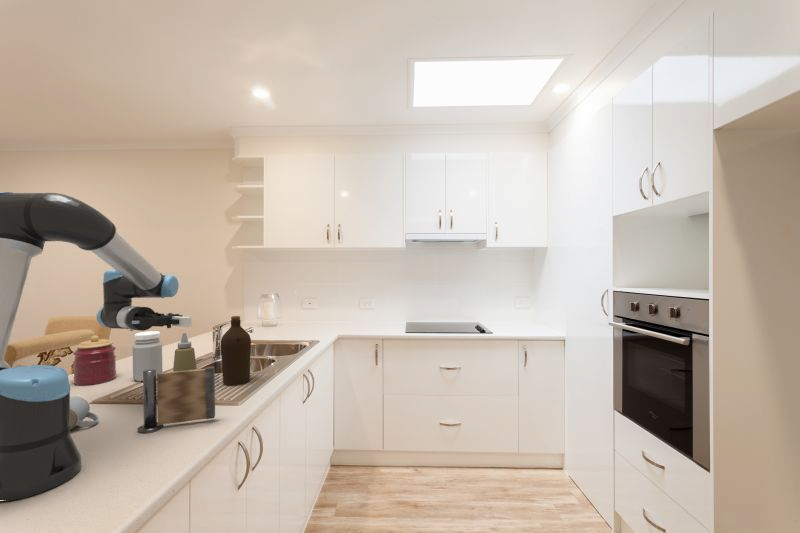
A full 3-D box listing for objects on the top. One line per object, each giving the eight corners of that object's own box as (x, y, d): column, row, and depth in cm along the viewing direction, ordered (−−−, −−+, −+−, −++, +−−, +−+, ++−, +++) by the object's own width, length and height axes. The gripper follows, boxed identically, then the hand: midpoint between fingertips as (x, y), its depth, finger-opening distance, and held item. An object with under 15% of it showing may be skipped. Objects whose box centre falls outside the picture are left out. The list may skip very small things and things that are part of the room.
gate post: (163, 429, 103) (162, 371, 102) (137, 435, 99) (135, 375, 99) (163, 421, 108) (162, 366, 107) (137, 427, 104) (136, 369, 104)
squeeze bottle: (184, 383, 142) (183, 336, 142) (168, 381, 144) (167, 334, 144) (201, 377, 149) (200, 332, 149) (186, 375, 152) (185, 331, 152)
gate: (157, 425, 103) (156, 373, 103) (159, 422, 105) (159, 371, 105) (214, 418, 108) (213, 368, 107) (215, 415, 109) (214, 366, 109)
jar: (131, 378, 149) (130, 333, 149) (160, 373, 155) (159, 329, 155) (134, 384, 142) (134, 336, 141) (165, 378, 148) (164, 333, 148)
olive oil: (257, 379, 146) (256, 315, 145) (234, 388, 136) (233, 319, 136) (238, 376, 150) (237, 313, 150) (214, 384, 141) (213, 317, 141)
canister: (101, 374, 155) (101, 331, 154) (124, 377, 151) (123, 333, 150) (65, 384, 142) (64, 337, 142) (88, 387, 138) (87, 339, 138)
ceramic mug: (42, 437, 99) (42, 407, 99) (57, 424, 107) (57, 397, 107) (92, 430, 103) (92, 402, 103) (102, 419, 111) (102, 392, 111)
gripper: (157, 326, 128) (208, 330, 119) (115, 333, 116) (169, 338, 107) (156, 304, 128) (207, 307, 119) (115, 309, 115) (168, 312, 107)
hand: (189, 322), depth 113 cm, fingers closed
